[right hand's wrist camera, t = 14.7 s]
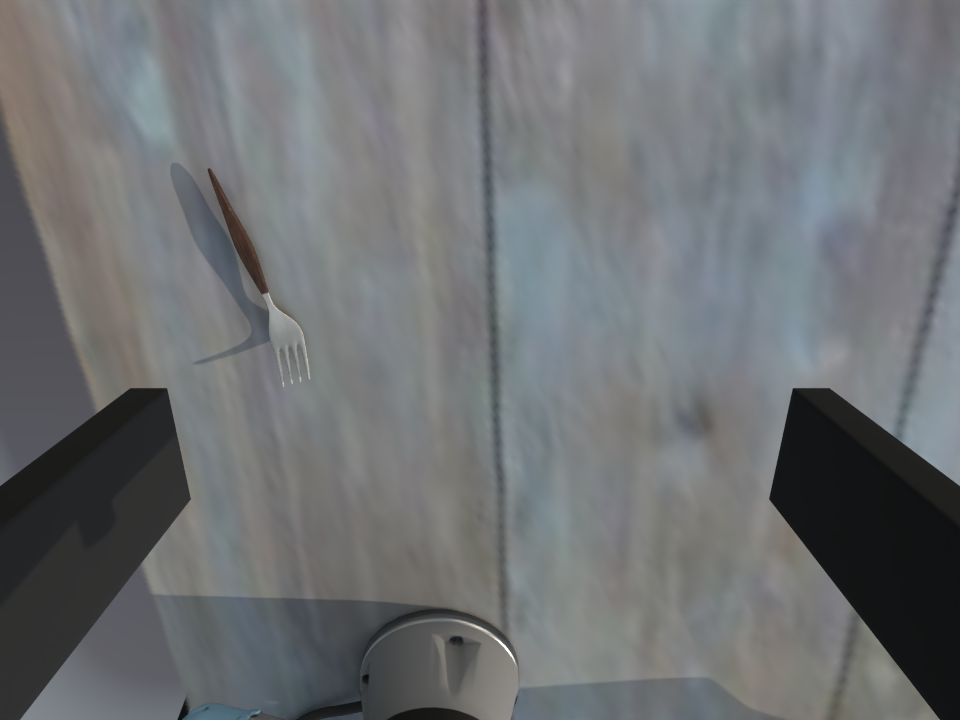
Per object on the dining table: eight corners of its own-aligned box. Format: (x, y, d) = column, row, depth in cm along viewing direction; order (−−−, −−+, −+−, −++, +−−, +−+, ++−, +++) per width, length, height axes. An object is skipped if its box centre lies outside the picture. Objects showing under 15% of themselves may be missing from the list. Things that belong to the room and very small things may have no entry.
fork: (229, 162, 40) (217, 164, 39) (319, 368, 46) (312, 378, 44) (195, 173, 41) (181, 176, 39) (288, 377, 46) (280, 388, 44)
